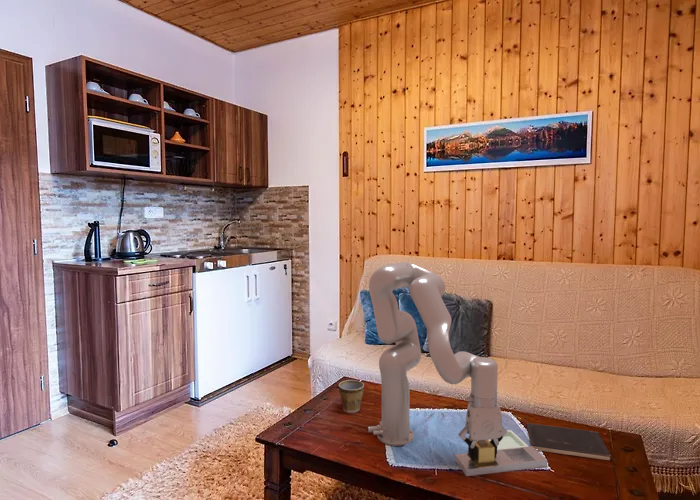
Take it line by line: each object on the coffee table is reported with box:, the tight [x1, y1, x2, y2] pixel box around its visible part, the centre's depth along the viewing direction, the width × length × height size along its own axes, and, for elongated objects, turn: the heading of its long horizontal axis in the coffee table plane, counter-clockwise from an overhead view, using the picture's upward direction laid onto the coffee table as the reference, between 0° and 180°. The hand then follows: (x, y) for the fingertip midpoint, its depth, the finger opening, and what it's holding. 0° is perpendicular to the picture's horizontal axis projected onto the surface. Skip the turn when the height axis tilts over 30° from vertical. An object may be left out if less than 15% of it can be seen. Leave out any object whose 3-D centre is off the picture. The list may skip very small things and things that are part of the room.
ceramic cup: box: [338, 379, 365, 414], centre depth 171 cm, size 13×10×10 cm
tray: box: [488, 429, 529, 450], centre depth 143 cm, size 11×11×2 cm
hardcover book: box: [525, 422, 612, 461], centre depth 144 cm, size 16×23×2 cm
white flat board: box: [454, 445, 548, 477], centre depth 132 cm, size 26×8×2 cm, turn 100°
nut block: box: [471, 440, 495, 467], centre depth 130 cm, size 5×5×7 cm
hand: (482, 456), depth 130 cm, fingers open, 5 cm apart
